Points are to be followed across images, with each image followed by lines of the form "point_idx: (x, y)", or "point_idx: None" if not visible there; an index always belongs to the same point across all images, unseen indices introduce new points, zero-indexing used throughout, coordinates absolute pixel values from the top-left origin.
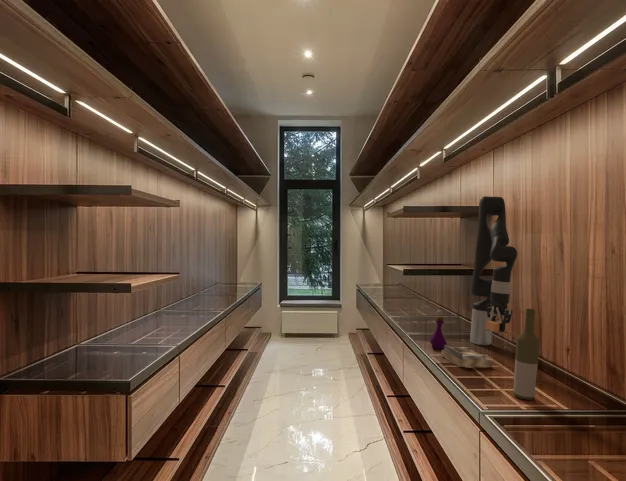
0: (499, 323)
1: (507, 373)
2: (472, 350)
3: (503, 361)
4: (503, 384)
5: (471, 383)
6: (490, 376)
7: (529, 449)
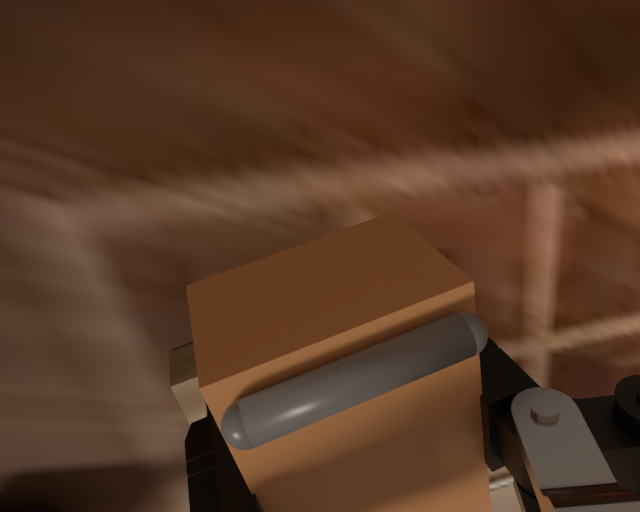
0: (470, 462)
1: (497, 205)
2: (189, 381)
3: (224, 116)
4: (628, 286)
5: None
6: (536, 316)
7: None
